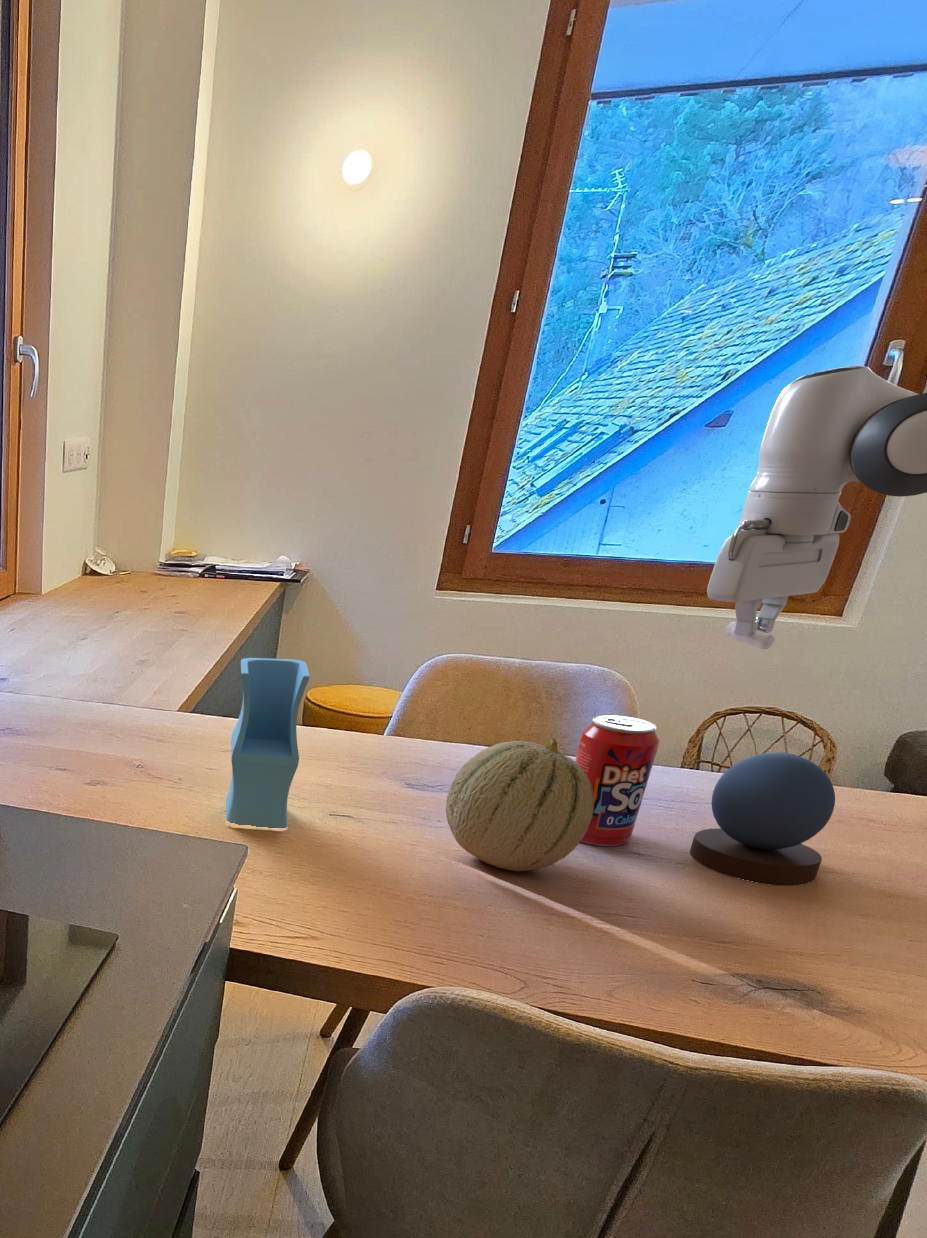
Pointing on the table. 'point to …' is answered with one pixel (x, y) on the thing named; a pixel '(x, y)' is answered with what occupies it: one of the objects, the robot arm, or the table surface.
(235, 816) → the vase
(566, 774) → the cantaloupe
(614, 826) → the soda can
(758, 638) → the small white plastic part
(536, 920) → the table surface
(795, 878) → the blue egg sculpture
